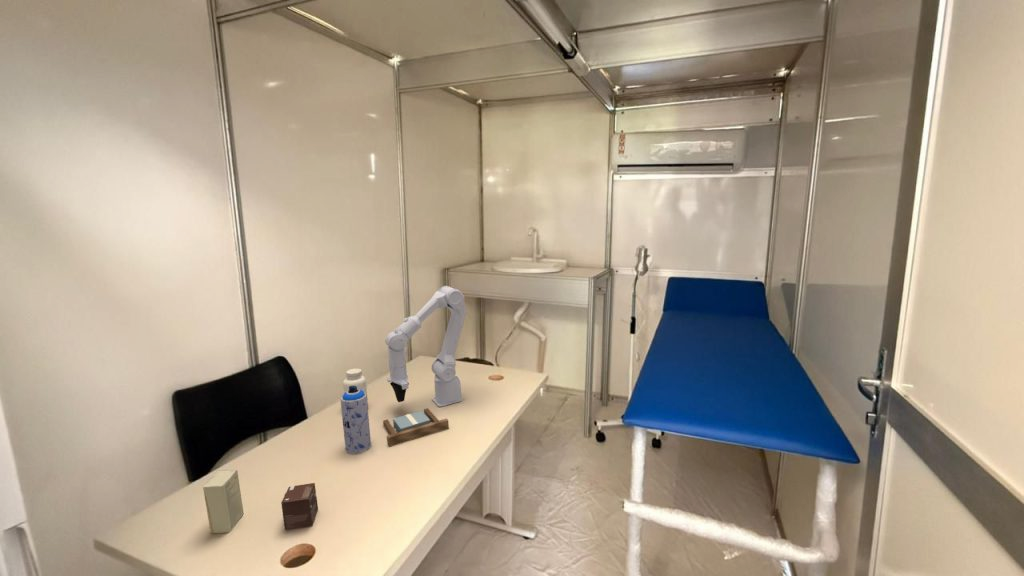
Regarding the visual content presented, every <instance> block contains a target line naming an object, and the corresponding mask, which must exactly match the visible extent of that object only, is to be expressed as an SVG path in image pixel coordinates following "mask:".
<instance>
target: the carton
mask: <svg viewBox="0 0 1024 576" xmlns="http://www.w3.org/2000/svg"><path fill="white" fill-rule="evenodd" d="M392 421H393V428H394V430H395V429H396V430H395V432H396V433H398V432H401V431H405V430H408V429H412V428H415V427H419V426H422V425H426V424H429V423H431V422H430V419H429V418H428V417H427V416H426V415H425V414H424V411H422V410H419V411H415V412H412V413H411V412H410V413H407V414H405V415H401V416H398V417H395V418H392Z"/></svg>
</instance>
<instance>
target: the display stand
mask: <svg viewBox="0 0 1024 576" xmlns="http://www.w3.org/2000/svg"><path fill="white" fill-rule="evenodd" d="M423 413H424V414H425V415H426V416H427V417H428V418H429V419H430V423H429V424H426V425H422V426H419V427H415V428H412V429H408V430H405V431H401V432H397V431H396V430H395V428H394V426H393V425H392V424H391V422H390V421H389V419H383V420H382V425H383V426H382V427H384V429H385V431H386V433H387V434H388V435H386V444H387V447H392V446H396V445H399V444H403V443H406V442H410V441H412V440H416V439H420V438H423V437H425V436H429V435H432V434H437V433H439V432H442V431H446V430H448V429H449V428H450V426H449V420H448V418H444V419H440V420H439V419H438V418H437V416H435V415H434V413H433V412H432V411H431V410H430V409H429V408H428V407H427V408H424V409H423Z"/></svg>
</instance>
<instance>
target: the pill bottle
mask: <svg viewBox="0 0 1024 576" xmlns="http://www.w3.org/2000/svg"><path fill="white" fill-rule="evenodd" d="M345 374H346V375H345V378H344V380H343V381H342V388H343V394H344V393H345V392H347V391H348V390H349V387H350V386H357V389H360V390H362V391H363V392H365V393H366V395H367V396H368V390H367V389H368V386H367V380H366V377H365V376H363V373H362V369H361V368H350V369H348V370H347V371H345ZM368 400H369V399H368V397H367V405H368V406H369V402H368Z"/></svg>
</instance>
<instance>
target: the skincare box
mask: <svg viewBox="0 0 1024 576" xmlns="http://www.w3.org/2000/svg"><path fill="white" fill-rule="evenodd" d="M238 472H239V471H238V469H224V470H223V469H221V470H218V471H217V472H216V473H215V474H214V475H213V476H212V477H211V478H210V479H209V480H208V481H206V483H205V484H204V485H203V487H202V488H203V495H204V501H205V506H206V514H207V519H208V520H207V521H208V526H209V531H210V534H220V533H223V534H224V533H231V531H232V529H234V528H235V526H236V525H237V523H238V522H239V521H240V520H241V518H242V517H243V515H244V507H243V499H242V491H241V486H240V479H239V473H238Z"/></svg>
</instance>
